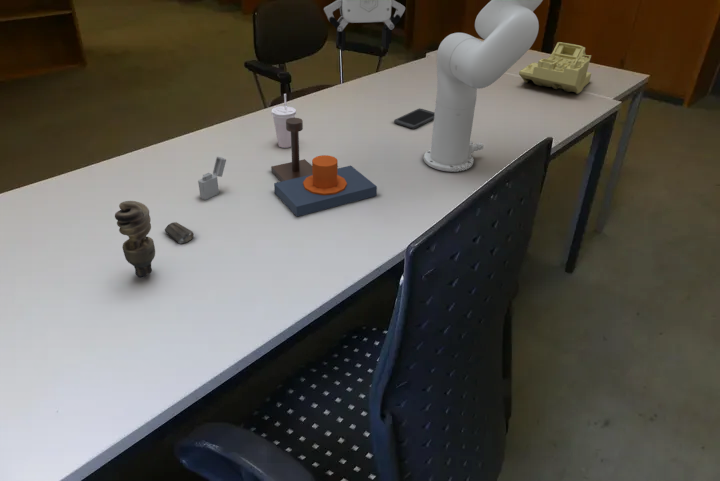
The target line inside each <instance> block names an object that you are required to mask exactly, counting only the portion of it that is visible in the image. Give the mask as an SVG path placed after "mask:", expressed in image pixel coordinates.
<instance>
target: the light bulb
mask: <svg viewBox="0 0 720 481" xmlns="http://www.w3.org/2000/svg"><path fill="white" fill-rule="evenodd" d="M118 207H119V210H118V211H116V212H115V214H114V219H115V220H117V221H116V225H117V227H118V228H119V229H118V231H119V233H120V234H121V235H122V236H123V235H124V236H127V237H128V239H126V240H125V241H124V242H123V243H122V251H123V256H124V259H125V260H126V262H127V263H129V264H130V265H132V266H133V268H134V270H135V271H134V273H135V275H136V276H137V278H141V279H142V278H146V277H147V276H148V275H149V274H151V273H152V271H153V268H152V262H153V261H154V259H155V257H156V247H155V241H154V239H153V238H152V237H150V236H148V235H149V234H150V232H151V230H152V224H151V215H150V209H149V208H148V206H147V205H146V204H144V203H142V202H140V201H135V200H125V201H122V202H120V203H119V205H118Z"/></svg>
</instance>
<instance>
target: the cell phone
mask: <svg viewBox="0 0 720 481" xmlns="http://www.w3.org/2000/svg"><path fill="white" fill-rule="evenodd" d="M434 114H435V111H430V110H428V109H425V108H421V107H420V108H419V107H418V108H417V109H414V110H412V111H410V112H408V113H406V114H404V115H402V116H400V117H397V118H395V119H394V120H393V121H394V124H397V125H400V126H403V127H406V128H409V129H412V130H413V129H417V128H419V127H422V126H423V125H425V124H427V123H429V122H431V121H434Z"/></svg>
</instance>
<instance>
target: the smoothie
mask: <svg viewBox="0 0 720 481" xmlns="http://www.w3.org/2000/svg"><path fill="white" fill-rule="evenodd" d="M283 100H284V101H283V102H284V105H279V106H275V107H273V108H272V109H271V116H272V118H273V123H274V129H275V135H276V139H277V145H278V147H279V148H283V149H289V148H291V132H290V131H287V130H286V120H287V119H289V118H296V115H297V110H296V108H295V107H293V106H288V105H287V104H288V103H287V93H283Z"/></svg>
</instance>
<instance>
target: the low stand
mask: <svg viewBox="0 0 720 481" xmlns="http://www.w3.org/2000/svg"><path fill="white" fill-rule="evenodd" d="M312 175H313V174H312ZM337 175H339V176H341V177H343V178H344V179H345V181H346V183H347V186H346V188H345V189H344V190H343V191H341V192H339V193H337V194H332V195H319V194H313V193H311V192H309V191H307V190H305V188H304V185H303V182H304V180H305V179H306V178H307V177H309V176H311V175H307V176H303V177H299V178H294V179H290V180H286V181H278V182H274V183H273V186H274V188H273V189H274V194H275V195H276V196H277V197H278V198H279V199H280V200H281V201H282V202H283V204H284V205H286V207H287V208H288V209H289V210H290V211H291V213H293V214H294V215H295V216H296V217H300V216H304V215H309V214H313V213H316V212H321V211H325V210H327V209H332V208H335V207H339V206H342V205H347V204H350V203H354V202H355V203H356V202H357V201H358V202H359V201H362V200H366V199H370V198H373V197H376V196H377V191H378V187H377V185H376V184H375V183H374V182H372V181H371V180H370V179H368V178H367V177H366V176H365V175H364V174H362V173H361V172H360V171H359V170H357V169H356V168H355V167H353V165H347V166H343V167H338V172H337Z"/></svg>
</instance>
